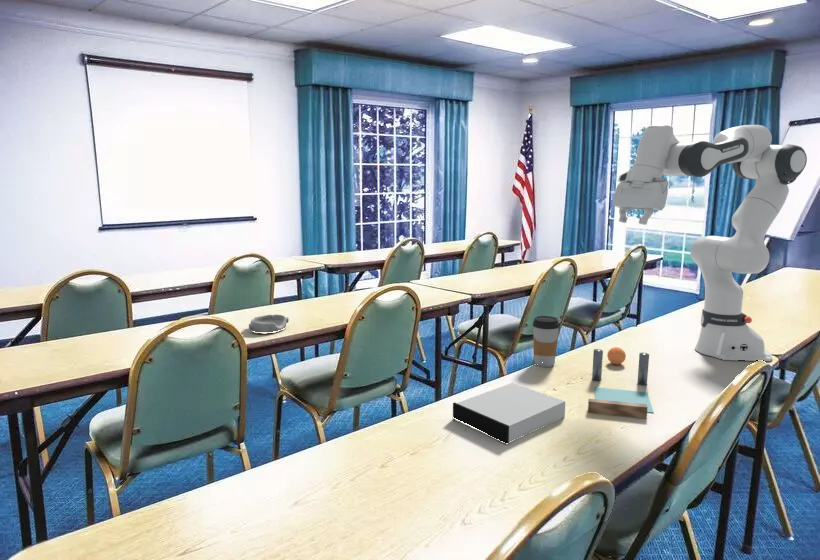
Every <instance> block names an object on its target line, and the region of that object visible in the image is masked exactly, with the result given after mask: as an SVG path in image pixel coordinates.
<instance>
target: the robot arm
mask: <svg viewBox="0 0 820 560" xmlns="http://www.w3.org/2000/svg"><path fill="white" fill-rule="evenodd" d="M772 137H773V135H772V133H771V131H770V130H769V129H768V128H767V127H766V126H765V125H762V124H761V125H760V124H744V125H738V126H734V127H730V128H727V129H725V130H722V131H720V132H719V133H717V134H715V136H714V138H713V140H712V141H711V142H708V141H705V140H702V141H695V142H694V141H693V142H684V143H683V142H680V141H679V140H678V139H677V137H676V136H675V134H674V127H672V126H670V125H667V124H654V125H649V126H647V127H646V128H645V129H644V131H643V132H642V134H641V136H640V140H639V143H638V146H637V149H636V157H635V160H634V162H633V164H632V167H631V169H629V170H628V171H626V172H624V173H621V174H620V175H619V176H618V180H617V181H618V182H619V183H618V185H617V186H616V188H615V191H614V194H613V199H612V205H613V207H616V208H618V211H619V212H618V213H619V219H618V222H619V223H624V224H625V223H627V221H628V217H627V213H628V211H629V209H631V210H643V212H644V213H643V215H642V216H641V217H639V219H638V224H639V225H648V224H647V223H648V220H649V219H650V218H651V216H653V214H654V211H663V210H664V208H665V207H666V203H667V201H668V200H667V198H668V194H669V193H668V192H669V188H668V187H669V182H668V179H667V178H666V177H662V176H663V175H664V176H669V177H692V178H693V177H696V178H703V177H706V176H708V175H709V174H710V173H711V172H712V171H714V170H715V169H717V168H718V167H719V166H721V165H722V166H723V165H724V164H732V169H733V172H734V173H735V175H736V176H737V177H738V178H742V179H746V180H751V179H753V180H755V184H754V187H753V188H752V189H751V190H750V191H749V193H748V194H747V195H746V196H745V198H744V199H743V201H742V202H741V203H740V205H739V206H738V208H737V209H736V211H735V212H734V214H733V215H732V216H731V225H732V227H733V228H734V230H735V234H734V235H733V236H731V237H730V236H729V237H728V236H722V235H721V236H718V235H705V236H701V237H698V238H696V239H695V240H694V241H693V243H692V244H691V246H690V247H691V248H690V258H691V259H692V261H693V262H694V264H696V265H697V267H698V268H699V271H700V273H701V275H702V278H703V282H704V302H703V303H704V307H703V309H702V312H701V316H700V319H701V320H700V326H701V328H700V332H699V337H698V340H697V343H696V345H695V346H694V349H695V351H696V352H698V353H700V354H703V355H704V356H709V357H713V358H716V359H719V360H721V359H722V361H738V360H745V362H749V361H750V362H757V361H756V360H764V361H763V362H771V361H772V360H773V356H772V353H771V352H770V351H769V350H767V349H766V348H765V342H764V341H765V340H764V339H763V337H762V336H761V335H760V334H759V333H758V332H756V331H755V330H754V329H753V328H752V327H751V326H749V325H748V324H751V323H752V321H753V319H752V317H750V316H749V315H746V314H745V313H743V312H742V308H743V299H744V290H743V288H742V286H741V285H740V284H739V283H738V282H737V281H736V280H735V278H734V275H733V273H734V274H735V273H736V274H740V275H741V274H742V275H746V274H747V275H751V274H752V275H753V274H754V275H755V274H759V273H761V272H762V271H764V270H765V269H766V268H767V266H768V264H769V262H770V251H769V249H768V247H767V246H766V244H765V238H766V237H765V236H766V234H767V232H768V230H769V228H770V227H771V225H772V224H773V222H774V221H775V219H776V217H777V216H778V215H779V213H780V211H781V210H782V208H783V206H784V205H785V203H786V200H787V198H788V195H789V192H790V189H789V186H788V185H790V184H792V183H794V182H795V181H796V180H797V178H798V177H799V176H800V175H801V174H802V173H803V171H804V169H806V166H807V160H808V158H807V157H808V156H807V154H806V150H805V149H803V147H802V146H799V145H796V144H772V141H773V138H772Z"/></svg>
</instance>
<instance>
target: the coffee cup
mask: <svg viewBox="0 0 820 560" xmlns="http://www.w3.org/2000/svg"><path fill="white" fill-rule="evenodd" d="M532 327H533V328H532V330H533V335H532V336H533V337H532V339H533V341H532V342H533V359H534V360H533V361H534V363H535V365H536V366H537V367H541V368H550V367H554V366H555V363H556V356H557V348H558V341H559V329H560V322H559V318H557V317H555V316H551V315H539V316H535V317H534V319H533V322H532ZM542 362H543V363H542ZM537 364H538V365H537Z"/></svg>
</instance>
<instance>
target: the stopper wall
mask: <svg viewBox="0 0 820 560" xmlns="http://www.w3.org/2000/svg"><path fill="white" fill-rule="evenodd" d="M587 400H588V403H587V404H588V405H587V413H591V414H600V415H609V416H616V417H617V416H619V417H626V418H638V419H645V420H646V419H647V417H648V413H647V408H648V407H647V404H639V403H629V402H619V401H609V400H599V399H595V398H588V399H587Z"/></svg>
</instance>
